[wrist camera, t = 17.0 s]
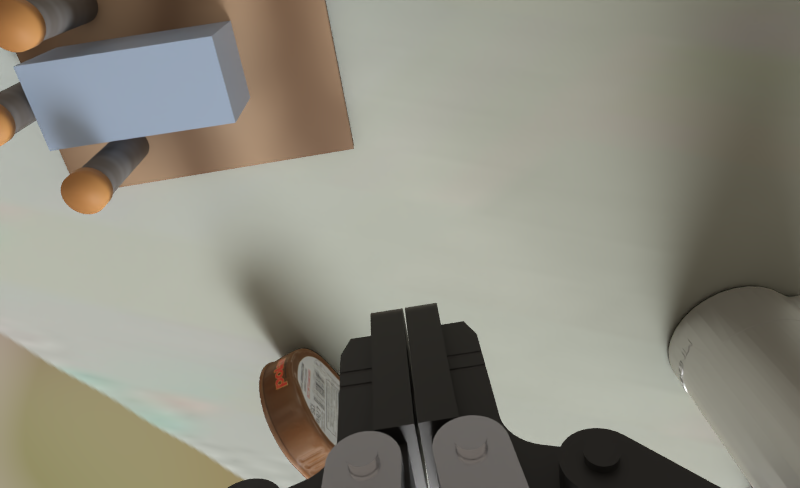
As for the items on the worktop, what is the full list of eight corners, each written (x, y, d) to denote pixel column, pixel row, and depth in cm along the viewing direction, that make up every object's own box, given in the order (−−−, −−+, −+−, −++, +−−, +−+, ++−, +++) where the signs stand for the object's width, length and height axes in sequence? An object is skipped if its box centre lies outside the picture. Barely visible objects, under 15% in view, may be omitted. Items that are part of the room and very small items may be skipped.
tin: (264, 340, 42) (244, 431, 34) (302, 319, 41) (289, 408, 34) (380, 467, 48) (383, 568, 41) (414, 451, 48) (424, 550, 40)
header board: (307, -89, 30) (292, -90, 23) (353, 144, 35) (352, 197, 29) (-13, -34, 30) (-120, -19, 23) (84, 188, 36) (21, 251, 29)
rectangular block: (57, 47, 31) (13, 66, 27) (230, 20, 31) (211, 36, 27) (86, 122, 33) (49, 150, 29) (250, 97, 33) (235, 122, 29)
